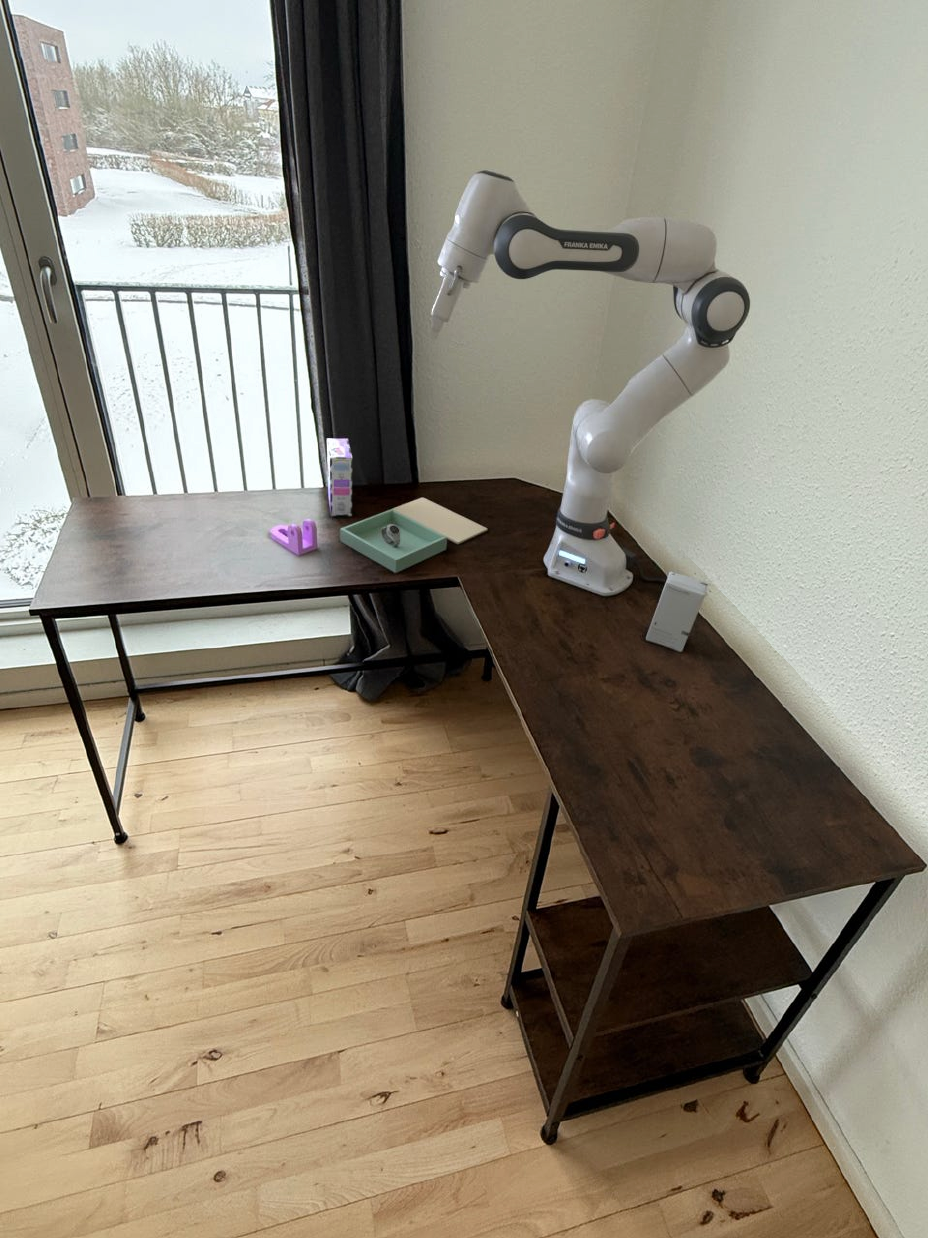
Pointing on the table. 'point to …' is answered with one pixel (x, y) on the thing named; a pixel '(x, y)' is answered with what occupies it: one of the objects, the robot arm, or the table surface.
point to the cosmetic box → (676, 611)
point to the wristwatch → (392, 531)
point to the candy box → (339, 477)
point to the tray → (413, 540)
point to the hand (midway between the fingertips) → (433, 332)
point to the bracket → (297, 537)
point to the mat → (441, 520)
